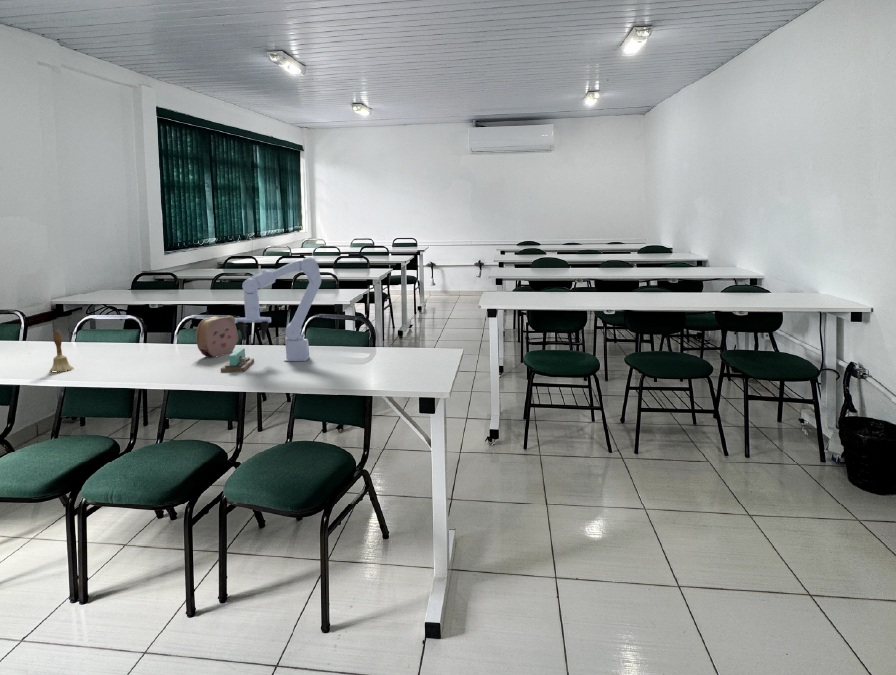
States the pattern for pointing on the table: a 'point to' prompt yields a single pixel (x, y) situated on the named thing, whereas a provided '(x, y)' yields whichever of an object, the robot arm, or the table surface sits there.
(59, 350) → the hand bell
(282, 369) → the table surface
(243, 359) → the display stand
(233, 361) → the mint green bar
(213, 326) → the face sculpture
